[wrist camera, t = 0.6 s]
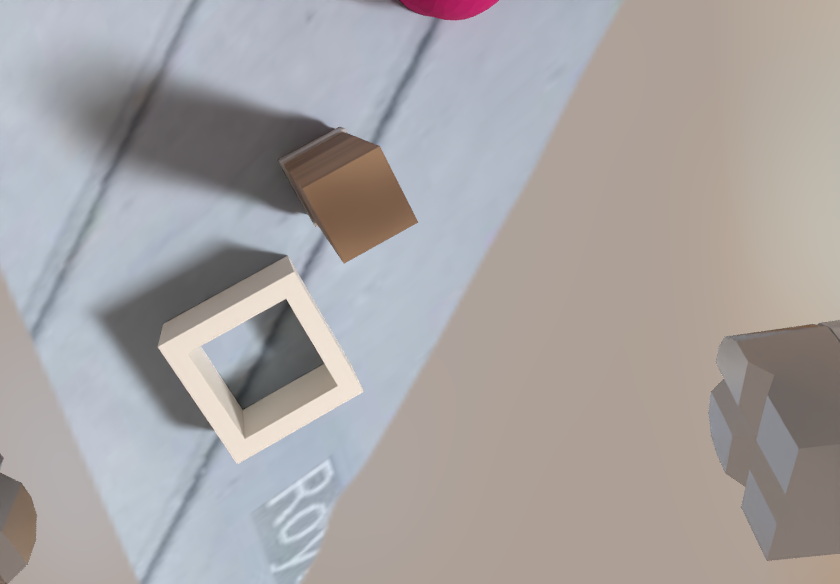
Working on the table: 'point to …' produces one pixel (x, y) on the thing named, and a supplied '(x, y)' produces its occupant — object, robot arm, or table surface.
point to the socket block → (283, 406)
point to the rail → (348, 192)
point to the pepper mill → (449, 8)
